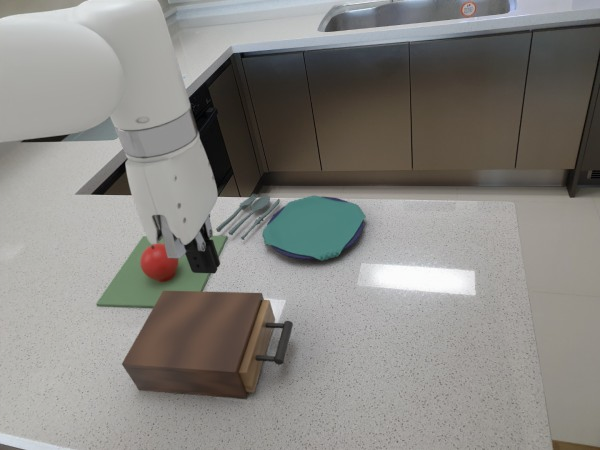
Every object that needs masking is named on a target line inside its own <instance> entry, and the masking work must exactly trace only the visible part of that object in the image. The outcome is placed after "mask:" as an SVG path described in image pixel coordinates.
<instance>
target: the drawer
mask: <svg viewBox="0 0 600 450" xmlns="http://www.w3.org/2000/svg"><path fill="white" fill-rule="evenodd" d="M293 326H294V324H293V321H291V320H285V321H284V322H276V317H275V314H274V311H273V307H272V304H271V301H270V299H264V300H262V303H261V306H260V309H259V312H258V315H257V316H256V319H255V322H254V325H253V328H252V331H251V334H250V337H249V340H248V343H247V346H246V349H245V352H244V355H243V358H242V361H241V364H240V367H239V370H238V371H239V375H240V377H241V380H242V382H243V384H244V387H245V389H246V392H249V393H255V391H256V387H257V384H258V381H259V377H260V373H261V370H262V367H263V363H264V362H273V363H274V364H275V365H278V366H282V365H284V362H285V359H286V355H287V351H288V348H289V343H290V338H291V336H292V335H291V334H292V330H293ZM274 329H282V330H281V332H280V337H279V340H278V343H277V348H276V351H275V354H274V355H266V352H267V349H268V346H269V343H270V339H271V335H272V333H273V330H274Z"/></svg>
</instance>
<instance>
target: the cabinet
mask: <svg viewBox="0 0 600 450" xmlns="http://www.w3.org/2000/svg"><path fill="white" fill-rule="evenodd" d="M262 300H265V298H264V295H263V292H241V291H240V292H239V291H204V290H202V291H163V292H162V293H161V295H160V297H159V299H158V301H157V302H156V304H155V306H154V308H151V311H150V312H149V315H148V316H147V318H146V320H145V321H144V324H143V325H142V327H141V329H140V331H139V332H138V334H137V336H136V337H135V339H134V341H133V343H132V344H131V347H130V349H129V350H128V352H127V354H126V356H125V357H124V359H123V361H122V363H121V365H122V367H123V369H124V370H125V371H126V373H127V375H128V376H129V377H130V379H131V381H132V382H133V384H134V385H135V387H136V389H137V390H138V391H145V392H146V391H148V392H160V393H169V394H182V395H183V394H184V395H193V396H205V397H206V396H207V397H216V398H217V397H218V398H229V399H240V400H247V399H248V395H249V394H250V392H246V389H245V387H244V384H243V382H242V380H241V377H240V375H239V371H238V370H239V367H240V364H241V361H242V358H243V355H244V352H245V349H246V346H247V343H248V340H249V337H250V334H251V331H252V328H253V325H254V322H255V319H256V316H257V315H258V312H259V309H260V306H261V303H262Z"/></svg>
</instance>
